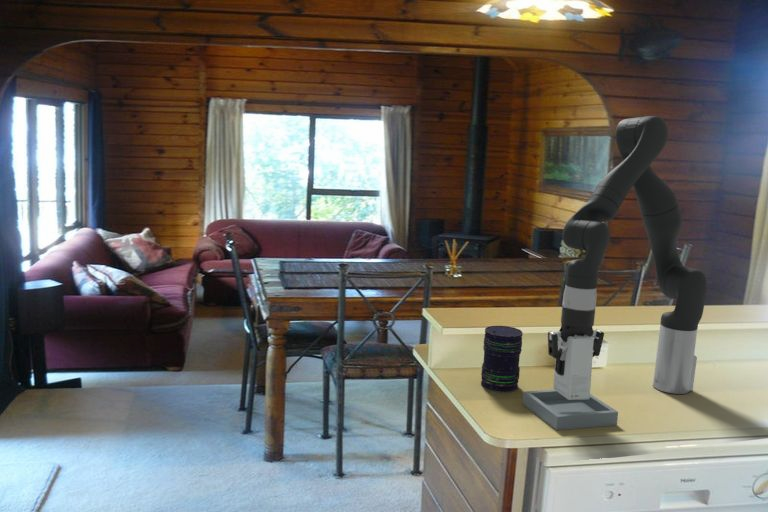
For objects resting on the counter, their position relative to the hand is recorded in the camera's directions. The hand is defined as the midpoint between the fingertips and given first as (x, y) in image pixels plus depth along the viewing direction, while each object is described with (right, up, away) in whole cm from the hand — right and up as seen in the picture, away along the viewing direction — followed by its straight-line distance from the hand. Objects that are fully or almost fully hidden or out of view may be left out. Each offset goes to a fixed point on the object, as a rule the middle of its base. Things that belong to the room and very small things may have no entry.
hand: (572, 373), depth 176 cm
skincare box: (0, -5, +1) cm, 5 cm away
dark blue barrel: (-14, -6, +19) cm, 25 cm away
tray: (0, -10, +2) cm, 10 cm away
